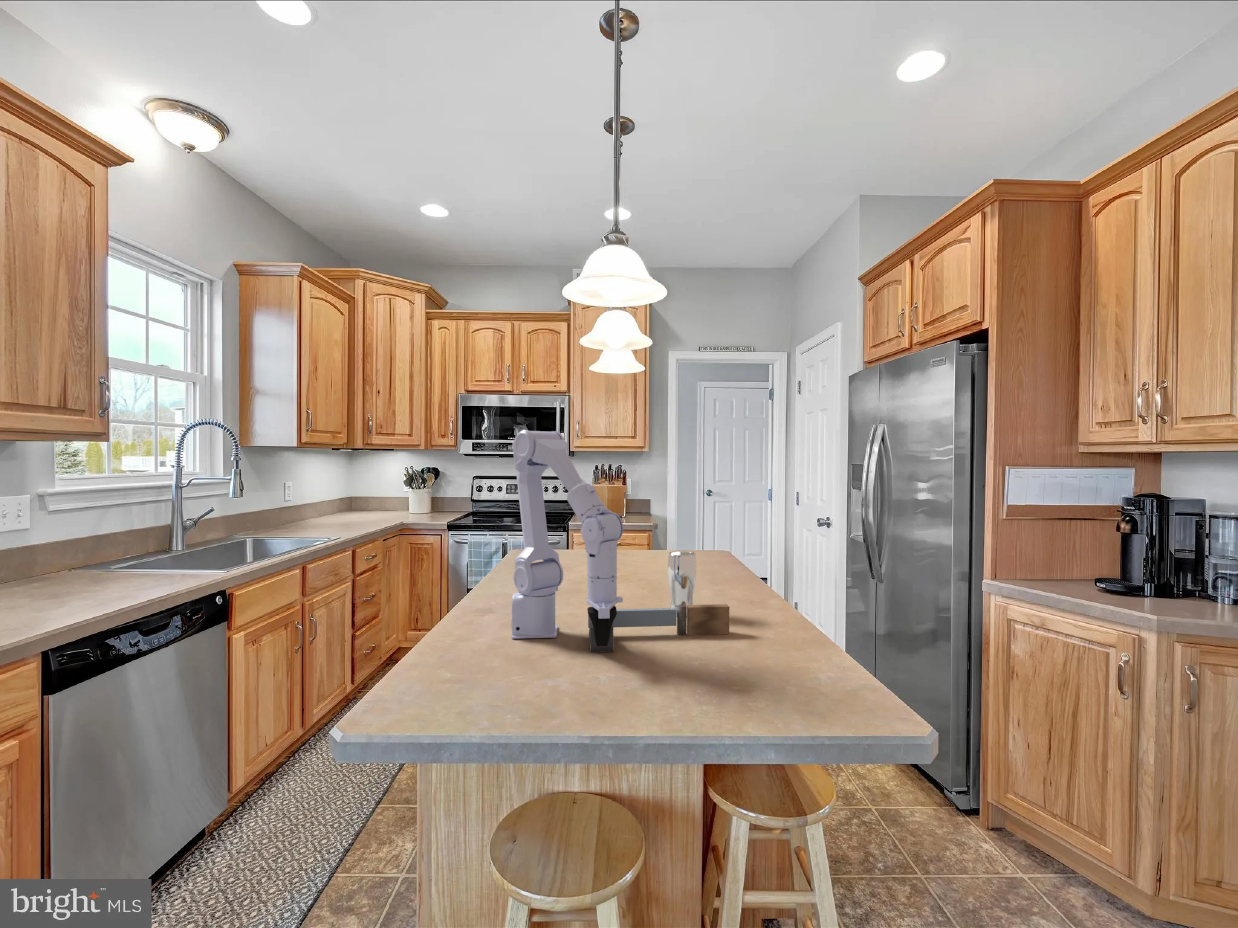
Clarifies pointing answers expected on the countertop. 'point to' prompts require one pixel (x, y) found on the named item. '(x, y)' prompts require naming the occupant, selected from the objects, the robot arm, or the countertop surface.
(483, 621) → the countertop surface
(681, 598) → the beer glass
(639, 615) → the long pale blue beam
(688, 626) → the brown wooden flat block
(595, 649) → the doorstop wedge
